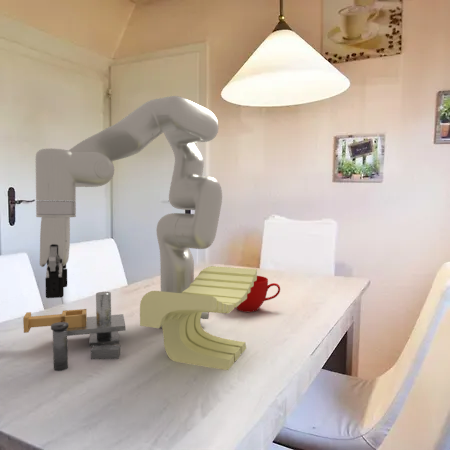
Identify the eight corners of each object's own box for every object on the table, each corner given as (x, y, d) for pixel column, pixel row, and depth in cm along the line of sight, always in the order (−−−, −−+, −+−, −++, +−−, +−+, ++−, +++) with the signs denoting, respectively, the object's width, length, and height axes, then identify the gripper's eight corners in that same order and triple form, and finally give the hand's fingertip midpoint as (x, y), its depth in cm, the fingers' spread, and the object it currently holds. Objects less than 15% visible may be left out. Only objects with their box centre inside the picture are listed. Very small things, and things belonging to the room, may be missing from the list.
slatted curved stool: (200, 329, 109) (200, 265, 108) (256, 336, 104) (256, 269, 103) (140, 375, 81) (139, 289, 80) (212, 388, 76) (213, 296, 75)
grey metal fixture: (123, 331, 107) (122, 287, 106) (125, 344, 98) (125, 296, 97) (63, 337, 103) (62, 291, 102) (59, 351, 93) (58, 301, 92)
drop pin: (72, 365, 86) (71, 322, 85) (64, 371, 83) (63, 327, 82) (57, 364, 86) (56, 321, 86) (48, 370, 83) (47, 326, 82)
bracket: (86, 321, 102) (86, 307, 102) (86, 328, 97) (85, 313, 97) (27, 326, 98) (26, 311, 98) (23, 333, 93) (22, 318, 92)
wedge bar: (120, 355, 92) (120, 345, 92) (118, 360, 89) (117, 349, 89) (94, 355, 92) (94, 345, 92) (90, 360, 89) (90, 349, 89)
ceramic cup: (278, 317, 121) (279, 284, 120) (224, 313, 124) (224, 281, 124) (281, 305, 134) (281, 276, 133) (231, 302, 137) (231, 274, 136)
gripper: (42, 209, 89) (43, 284, 90) (29, 210, 73) (30, 303, 74) (77, 209, 91) (78, 283, 92) (73, 211, 75) (73, 300, 76)
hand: (57, 292), depth 83 cm, fingers open, 9 cm apart
